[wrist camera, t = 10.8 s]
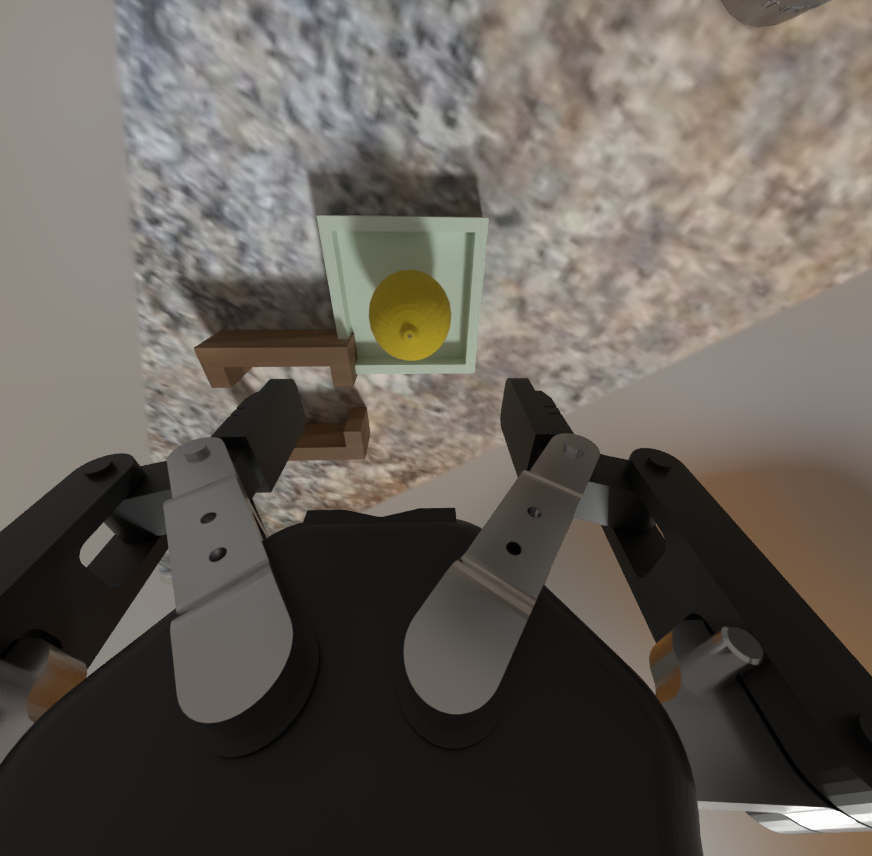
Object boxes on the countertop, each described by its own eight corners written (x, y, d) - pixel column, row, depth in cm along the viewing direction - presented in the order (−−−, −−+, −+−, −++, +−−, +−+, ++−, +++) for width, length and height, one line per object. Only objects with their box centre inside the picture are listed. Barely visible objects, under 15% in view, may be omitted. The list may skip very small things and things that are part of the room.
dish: (325, 214, 21) (316, 215, 20) (482, 216, 22) (488, 218, 20) (349, 362, 28) (344, 374, 26) (470, 362, 28) (474, 373, 27)
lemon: (425, 346, 27) (428, 393, 20) (364, 314, 25) (346, 354, 18) (459, 285, 24) (476, 317, 17) (394, 244, 22) (384, 263, 16)
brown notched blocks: (221, 330, 26) (193, 348, 22) (355, 329, 26) (346, 347, 23) (263, 435, 32) (245, 461, 29) (370, 433, 33) (364, 459, 29)
